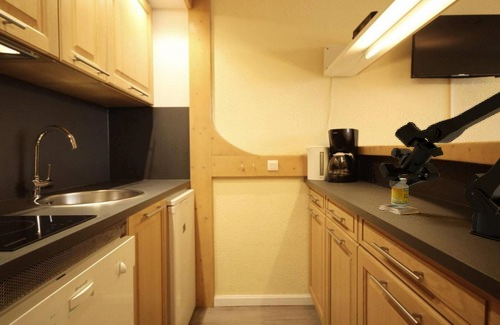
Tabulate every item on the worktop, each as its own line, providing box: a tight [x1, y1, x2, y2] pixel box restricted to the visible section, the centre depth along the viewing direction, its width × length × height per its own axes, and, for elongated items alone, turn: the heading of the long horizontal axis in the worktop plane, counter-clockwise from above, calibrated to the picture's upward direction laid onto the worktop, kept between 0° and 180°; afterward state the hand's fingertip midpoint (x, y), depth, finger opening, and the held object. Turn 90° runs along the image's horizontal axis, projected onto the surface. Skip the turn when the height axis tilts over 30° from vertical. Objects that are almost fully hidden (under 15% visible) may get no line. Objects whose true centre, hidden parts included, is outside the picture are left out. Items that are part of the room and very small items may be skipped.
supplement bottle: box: [390, 177, 410, 206], centre depth 96 cm, size 5×5×10 cm
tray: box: [379, 204, 420, 216], centre depth 96 cm, size 9×9×1 cm
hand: (397, 186), depth 97 cm, fingers closed on supplement bottle, 5 cm apart
